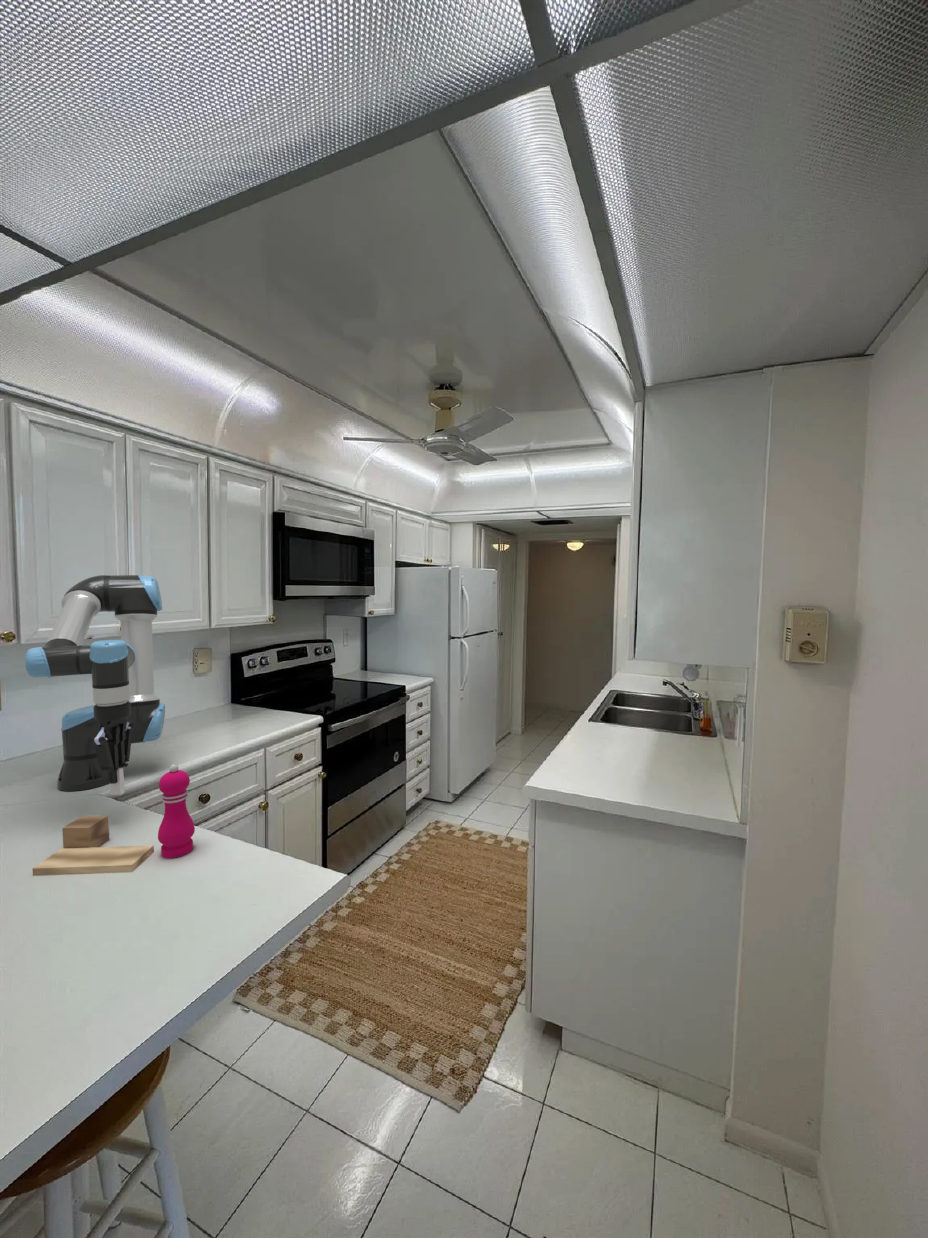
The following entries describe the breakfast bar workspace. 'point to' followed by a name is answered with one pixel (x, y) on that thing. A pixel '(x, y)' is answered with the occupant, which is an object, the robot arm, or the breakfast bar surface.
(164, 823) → the pepper mill
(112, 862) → the oak board
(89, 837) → the walnut block
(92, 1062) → the breakfast bar surface
